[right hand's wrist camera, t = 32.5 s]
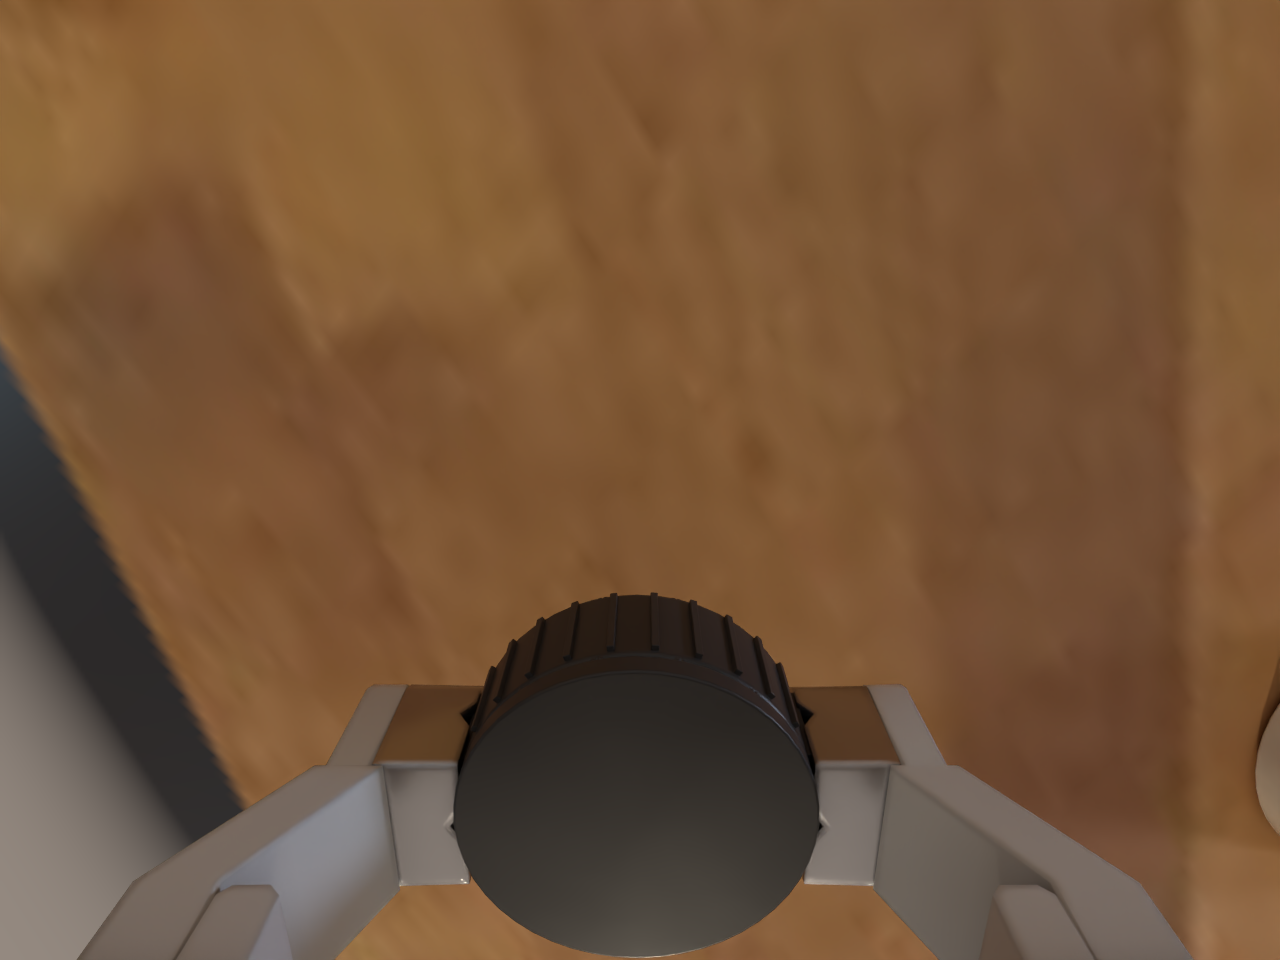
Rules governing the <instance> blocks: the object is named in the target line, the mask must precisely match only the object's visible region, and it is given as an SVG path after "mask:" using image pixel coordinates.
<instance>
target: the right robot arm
mask: <svg viewBox="0 0 1280 960" xmlns="http://www.w3.org/2000/svg"><path fill="white" fill-rule="evenodd" d="M483 688H484V686H454V685H410V686H409V685H373V686H371V687H369V688H368V689H367V690H366V691H365V693H364V695H363V697H362V699H361V701H360V702H359V704H358V706H357V708H356V710H355V712H354V714H353V716H352V717H351V719H350V721H349V723H348V725H347V727H346V729H345V730H344V732H343V734H342V736H341V738H340V740H339V742H338V744H337V745H336V747H335V749H334V751H333V753H332V755H331V757H330V759H329V760H328V762H327V764H326V765H317V766H313V767H311V768H310V769H308V770H307V771H305V772H304V773H302V774H300V775H299V776H297V777H296V778H294V779H293V780H291V781H290V782H288V783H286V784H285V785H283V786H282V787H280V788H279V789H277V790H275V791H274V792H272V793H271V794H269V795H268V796H266V797H264V798H263V799H261V800H260V801H258V802H257V803H255V804H254V805H252V806H250V807H249V808H247V809H246V810H244V811H243V812H241V813H239V814H238V815H236V816H235V817H233V818H232V819H230V820H228V821H227V822H225V823H224V824H222V825H221V826H219V827H217V828H216V829H214V830H213V831H211V832H210V833H208V834H207V835H205V836H203V837H202V838H200V839H199V840H197V841H196V842H194V843H193V844H191V845H189V846H188V847H186V848H185V849H183V850H181V851H180V852H178V853H177V854H175V855H174V856H172V857H171V858H169V859H168V860H166V861H164V862H163V863H161V864H160V865H158V866H156V867H155V868H153V869H152V870H150V871H149V872H147V873H145V874H144V875H142V876H141V877H139V878H138V879H136V880H135V881H133V882H132V884H131V885H130V887H129V888H128V889H127V891H126V892H125V894H124V895H123V896H122V898H121V899H120V900H119V902H118V903H117V905H116V906H115V907H114V909H113V910H112V912H111V913H110V914H109V916H108V917H107V918H106V920H105V921H104V923H103V924H102V925H101V927H100V928H99V929H98V931H97V932H96V934H95V935H94V937H93V938H92V939H91V941H90V942H89V943H88V945H87V946H86V948H85V949H84V950H83V952H82V953H81V954H80V956H79V957H78V959H77V960H334V959H335V958H336V957H337V956H338V955H339V954H340V953H341V952H342V951H343V950H344V949H345V948H346V947H347V945H348V944H349V943H350V942H351V941H352V940H353V939H354V938H355V937H356V936H357V935H358V934H359V933H360V932H361V931H362V930H363V929H364V927H365V926H366V925H367V924H368V923H369V922H370V921H371V920H372V919H373V918H374V917H375V916H376V915H377V914H378V913H379V912H380V911H381V910H382V908H383V907H384V906H385V905H386V904H387V903H388V902H389V901H390V900H391V899H392V898H393V897H394V896H395V895H396V894H397V893H398V892H399V891H400V886H412V885H446V884H469V883H470V879H471V874H470V872H469V870H468V868H467V866H466V865H465V863H464V860H463V858H462V855H461V852H460V849H459V847H458V844H457V839H456V834H455V829H454V818H453V803H454V796H455V789H456V785H457V781H458V778H459V775H460V772H461V768H462V765H463V762H464V760H463V759H464V755H465V752H466V749H467V746H468V743H469V739H470V729H469V724H470V721H471V718H472V716H473V715H474V714H475V713H476V710H477V707H478V704H479V701H480V697H481V694H482V691H483ZM789 689H790V693H793V696H794V700H795V703H796V707H797V708H799V709H800V712H801V715H802V718H803V722H804V725H805V726H804V734H805V737H806V740H807V744H808V747H809V750H810V753H811V756H810V760H809V762H810V766H811V769H812V772H813V776H814V779H815V783H816V786H817V792H818V799H819V805H820V811H819V829H818V835H817V840H816V845H815V848H814V850H813V853H812V856H811V859H810V862H809V864H808V866H807V867H806V869H805V871H804V873H803V875H802V876H803V881H804V884H826V885H861V886H874V887H873V889H874V891H875V892H876V893H877V894H878V895H879V896H880V897H881V898H882V899H883V900H884V901H885V902H886V903H887V904H888V906H889V907H890V908H891V909H892V910H893V911H894V912H895V913H896V914H897V915H898V916H899V917H900V918H901V919H902V920H903V922H904V923H905V924H906V925H907V926H908V927H909V928H910V929H911V930H912V931H913V932H914V933H915V934H916V935H917V937H918V938H919V939H920V940H921V941H922V942H923V943H924V944H925V945H926V946H927V947H928V948H929V949H930V950H931V952H932V953H933V954H934V955H935V956H936V957H937V958H938V959H939V960H1194V959H1193V958H1192V956H1191V955H1190V954H1189V952H1188V951H1187V949H1186V948H1185V947H1184V945H1183V944H1182V942H1181V941H1180V939H1179V938H1178V937H1177V935H1176V934H1175V932H1174V931H1173V929H1172V928H1171V927H1170V925H1169V924H1168V922H1167V921H1166V919H1165V918H1164V917H1163V915H1162V914H1161V912H1160V911H1159V910H1158V908H1157V907H1156V905H1155V904H1154V902H1153V901H1152V900H1151V898H1150V897H1149V895H1148V894H1147V892H1146V891H1145V890H1144V888H1143V887H1142V885H1141V884H1140V883H1139V882H1138V881H1136V880H1135V879H1133V878H1132V877H1130V876H1129V875H1127V874H1125V873H1124V872H1122V871H1121V870H1119V869H1118V868H1116V867H1115V866H1113V865H1112V864H1110V863H1108V862H1107V861H1105V860H1104V859H1102V858H1101V857H1099V856H1098V855H1096V854H1095V853H1093V852H1091V851H1090V850H1088V849H1087V848H1085V847H1084V846H1082V845H1081V844H1079V843H1078V842H1076V841H1074V840H1073V839H1071V838H1070V837H1068V836H1067V835H1065V834H1064V833H1062V832H1061V831H1059V830H1057V829H1056V828H1054V827H1053V826H1051V825H1050V824H1048V823H1047V822H1045V821H1043V820H1042V819H1040V818H1039V817H1037V816H1036V815H1034V814H1033V813H1031V812H1030V811H1028V810H1026V809H1025V808H1023V807H1022V806H1020V805H1019V804H1017V803H1016V802H1014V801H1013V800H1011V799H1009V798H1008V797H1006V796H1005V795H1003V794H1002V793H1000V792H999V791H997V790H996V789H994V788H992V787H991V786H989V785H988V784H986V783H985V782H983V781H982V780H980V779H979V778H977V777H975V776H974V775H972V774H971V773H969V772H968V771H966V770H965V769H963V768H962V767H960V766H956V765H947V764H946V762H945V760H944V758H943V757H942V755H941V753H940V751H939V749H938V747H937V745H936V743H935V741H934V740H933V738H932V736H931V734H930V732H929V730H928V728H927V726H926V724H925V723H924V721H923V719H922V717H921V715H920V713H919V711H918V709H917V707H916V706H915V704H914V702H913V700H912V698H911V696H910V694H909V692H908V690H907V689H906V687H904V686H903V685H901V684H884V685H863V686H833V687H789Z"/></svg>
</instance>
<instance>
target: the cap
mask: <svg viewBox="0 0 1280 960" xmlns="http://www.w3.org/2000/svg"><path fill="white" fill-rule="evenodd" d="M804 726H805V725H804V722H803V718H802V715H801V712H800V709H799V708H797V707H796V703H795V700H794V696H793V693H790V689H789V686H788V682H787V679H786V675H785V672H784V668H783V666H782V664H781V663H780V662H779V663H777V664H776V663H775V662H774V661H773V659H772V658H771V656H770V655H769V654H768V652H767V651H766V650H765V649H764V648H763V644H762V640H761V639H760V638H759V637H758V636H756V637H755V638H753V637H752V636H751V635H749V634H748V633H747V632H746V631H744V629H742V628H740V627H739V626H738V625H736V624H735V623H733V619H732V617H731V616H729V615H726V616H725V617H723V616H721V615H719V614H717V613H715V612H713V611H711V610H708V609H706V608H704V607H701V606H699V605H697V601H694V600H690V602H685V601H682V600H680V599H675V598H667V597H661V596H658V593H652V592H651V595H650V596H649V595H624V596H617V593H612V594H610V597H604V598H599V599H595V600H591V601H588V602H585V603H582V604H579V603H578V601H576V602H573V603H572V604H571V607H570V608H568V609H565V610H563V611H561V612H559V613H556V614H554V615H553V616H551V617H549V618H548V619H546V620H545V619H544V618H543V617H541V618H540V619H538V620H537V623H536V626H534V627H533V628H532V629H531V630H530V631H528V632H527V633H526V634H525V635H523V636H522V637H521V638H520V639H519V640H518V641H515V640H514V639H512V641H511V642H510V643H509V645H508V649H507V652H506V654H505V655H504V657H503V658H502V659H501V661H500V662H499V664H498V665H497V666H496V668H495V667H493V666H491V668H490V669H489V672H488V675H487V678H486V681H485V685H484V688H483V691H482V694H481V697H480V701H479V704H478V707H477V710H476V713H475V714H474V715H473V716H472V718H471V721H470V724H469V729H470V739H469V743H468V746H467V749H466V752H465V755H464V759H463V760H464V762H463V765H462V768H461V772H460V775H459V778H458V781H457V785H456V789H455V796H454V803H453V818H454V829H455V834H456V839H457V844H458V847H459V849H460V852H461V855H462V858H463V860H464V863H465V865H466V866H467V868H468V870H469V872H470V874H471V876H472V877H473V879H474V880H475V882H476V883H477V884H478V886H479V887H480V888H481V890H482V891H483V892H484V894H485V895H486V896H487V897H488V898H489V899H490V900H491V901H492V902H493V903H494V904H495V905H496V906H497V907H498V908H499V909H500V910H501V911H503V912H504V913H505V914H506V915H508V916H509V917H510V918H511V919H513V920H514V921H515V922H517V923H519V924H520V925H522V926H523V927H525V928H527V929H528V930H530V931H531V932H533V933H535V934H537V935H540V936H542V937H544V938H546V939H548V940H550V941H552V942H555V943H558V944H561V945H564V946H566V947H569V948H572V949H576V950H580V951H584V952H588V953H592V954H598V955H605V956H612V957H627V958H648V957H662V956H669V955H677V954H682V953H687V952H691V951H695V950H699V949H703V948H706V947H708V946H711V945H714V944H717V943H720V942H722V941H725V940H727V939H729V938H731V937H733V936H735V935H737V934H739V933H741V932H743V931H745V930H746V929H748V928H749V927H751V926H753V925H754V924H756V923H758V922H759V921H760V920H762V919H763V918H764V917H765V916H767V915H768V914H769V913H770V912H772V911H773V910H774V909H775V908H776V907H777V906H778V905H779V904H780V903H781V902H782V901H783V900H784V899H785V898H786V897H787V896H788V895H789V894H790V892H791V891H792V890H793V888H794V887H795V886H796V884H797V883H798V882H799V880H800V879H801V877H802V875H803V873H804V871H805V869H806V867H807V866H808V864H809V862H810V859H811V856H812V853H813V850H814V848H815V845H816V840H817V835H818V829H819V811H820V805H819V799H818V792H817V786H816V783H815V779H814V776H813V772H812V769H811V766H810V762H809V760H810V756H811V753H810V750H809V747H808V744H807V740H806V737H805V734H804Z"/></svg>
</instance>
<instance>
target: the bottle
mask: <svg viewBox="0 0 1280 960" xmlns="http://www.w3.org/2000/svg"><path fill="white" fill-rule="evenodd" d="M1255 783H1256V790H1257V795H1258V799H1259V803H1260V805H1261V808H1262V810H1263V812H1264V815H1265V817H1266V819H1267V820H1268V822H1269V823H1270V825H1271V826H1272V828H1273V829H1274V831H1275V832H1276V833H1277V834H1278V835H1279V836H1280V703H1279V705H1278V706H1277V708H1276V710H1275V711H1274V713H1273V715H1272V716H1271V718H1270V720H1269V722H1268V724H1267V727H1266V729H1265V731H1264V733H1263V735H1262V739H1261V742H1260V745H1259V749H1258V752H1257V759H1256V766H1255Z"/></svg>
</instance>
